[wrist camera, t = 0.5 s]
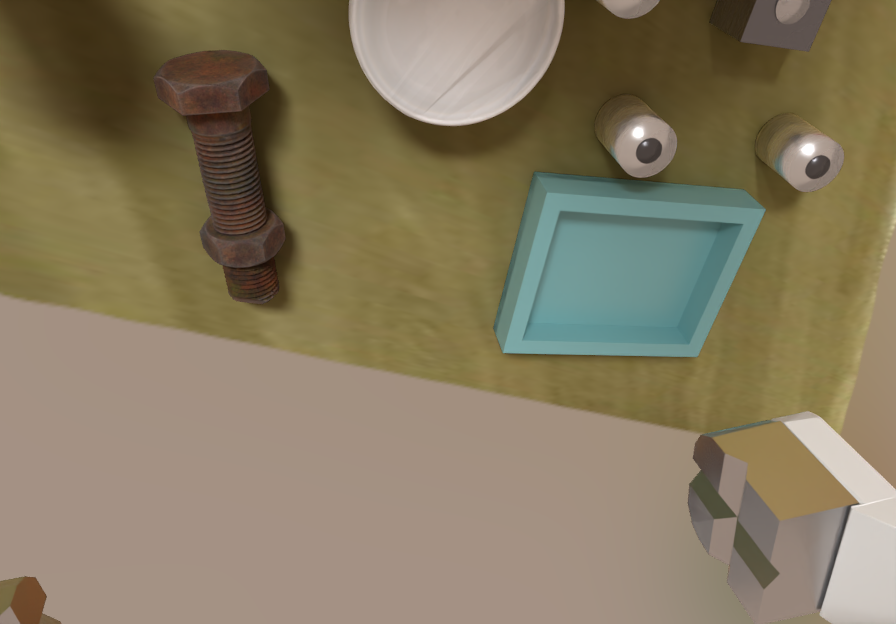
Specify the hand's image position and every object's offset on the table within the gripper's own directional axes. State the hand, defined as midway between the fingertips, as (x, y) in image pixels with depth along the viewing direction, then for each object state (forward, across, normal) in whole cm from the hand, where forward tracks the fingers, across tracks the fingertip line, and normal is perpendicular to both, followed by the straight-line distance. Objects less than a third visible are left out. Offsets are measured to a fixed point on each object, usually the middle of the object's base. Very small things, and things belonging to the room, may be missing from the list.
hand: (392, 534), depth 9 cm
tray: (+39, -21, +19) cm, 48 cm away
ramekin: (+38, -9, 0) cm, 39 cm away
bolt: (+39, +5, +9) cm, 41 cm away
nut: (+37, -28, +1) cm, 46 cm away
